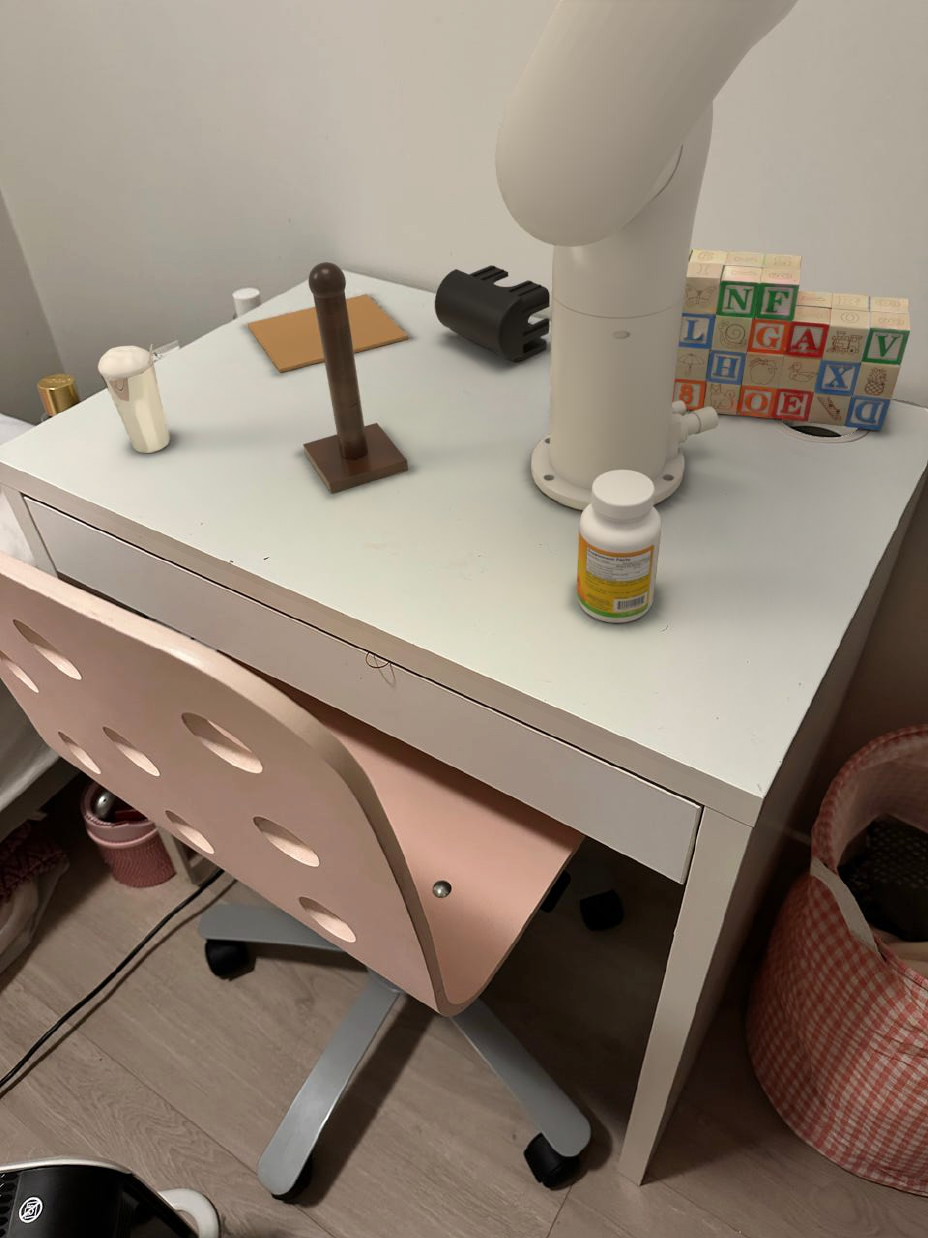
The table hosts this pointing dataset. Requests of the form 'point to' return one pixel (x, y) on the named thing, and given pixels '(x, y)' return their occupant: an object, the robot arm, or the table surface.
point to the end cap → (494, 311)
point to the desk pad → (299, 336)
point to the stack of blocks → (785, 343)
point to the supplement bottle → (618, 547)
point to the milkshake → (136, 395)
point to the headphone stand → (345, 397)
